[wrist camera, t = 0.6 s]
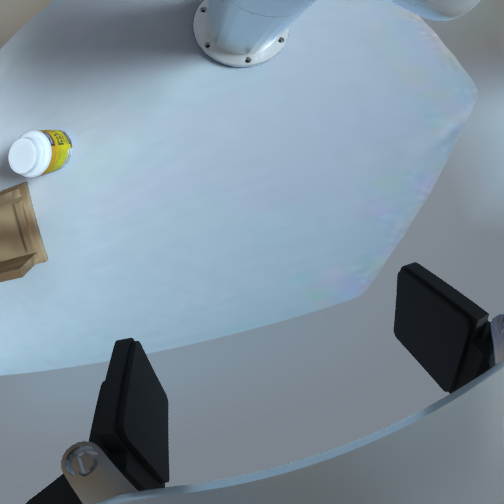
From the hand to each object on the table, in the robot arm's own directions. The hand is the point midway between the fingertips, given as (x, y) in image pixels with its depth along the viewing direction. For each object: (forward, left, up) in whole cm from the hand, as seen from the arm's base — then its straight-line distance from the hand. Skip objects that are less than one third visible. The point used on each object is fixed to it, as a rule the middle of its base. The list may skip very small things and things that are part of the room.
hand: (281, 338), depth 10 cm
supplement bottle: (-9, -20, -33) cm, 40 cm away
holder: (0, -32, -33) cm, 46 cm away
